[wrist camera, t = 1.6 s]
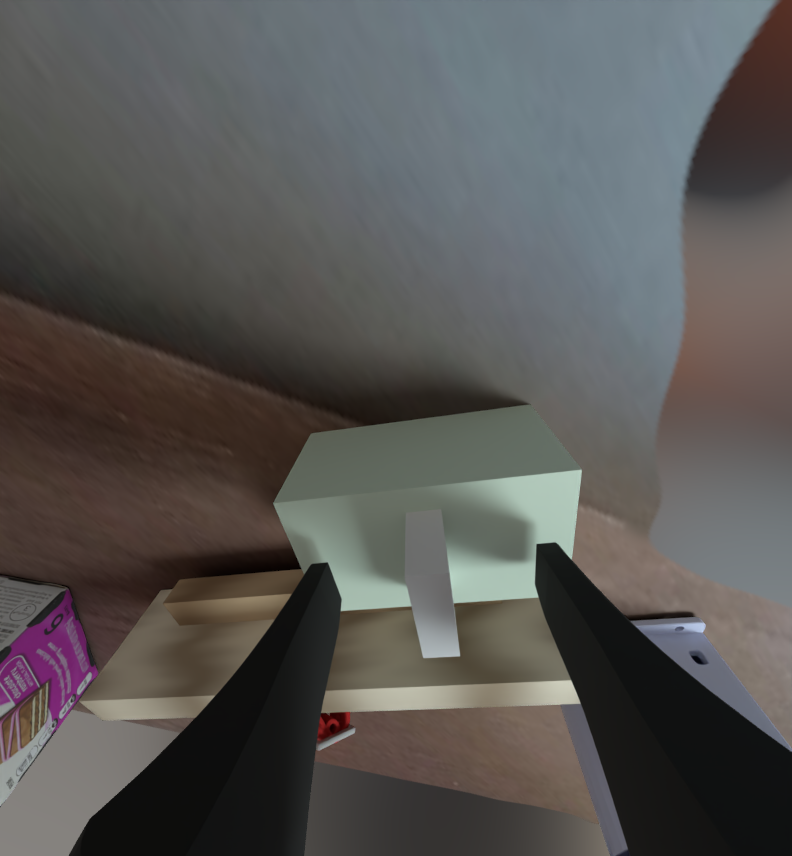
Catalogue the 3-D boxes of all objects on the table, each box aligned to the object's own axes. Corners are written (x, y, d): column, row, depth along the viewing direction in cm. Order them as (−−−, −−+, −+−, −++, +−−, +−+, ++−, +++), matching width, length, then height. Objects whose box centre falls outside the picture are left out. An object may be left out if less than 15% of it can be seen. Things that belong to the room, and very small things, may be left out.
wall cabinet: (529, 403, 15) (629, 530, 8) (527, 507, 17) (599, 666, 11) (311, 432, 16) (239, 564, 9) (341, 525, 18) (303, 680, 12)
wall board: (547, 533, 18) (604, 651, 13) (544, 582, 20) (593, 703, 14) (144, 569, 20) (52, 679, 15) (175, 609, 22) (102, 720, 17)
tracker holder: (205, 703, 27) (158, 673, 20) (240, 643, 30) (209, 600, 23) (344, 769, 25) (343, 759, 18) (365, 697, 28) (371, 667, 21)
